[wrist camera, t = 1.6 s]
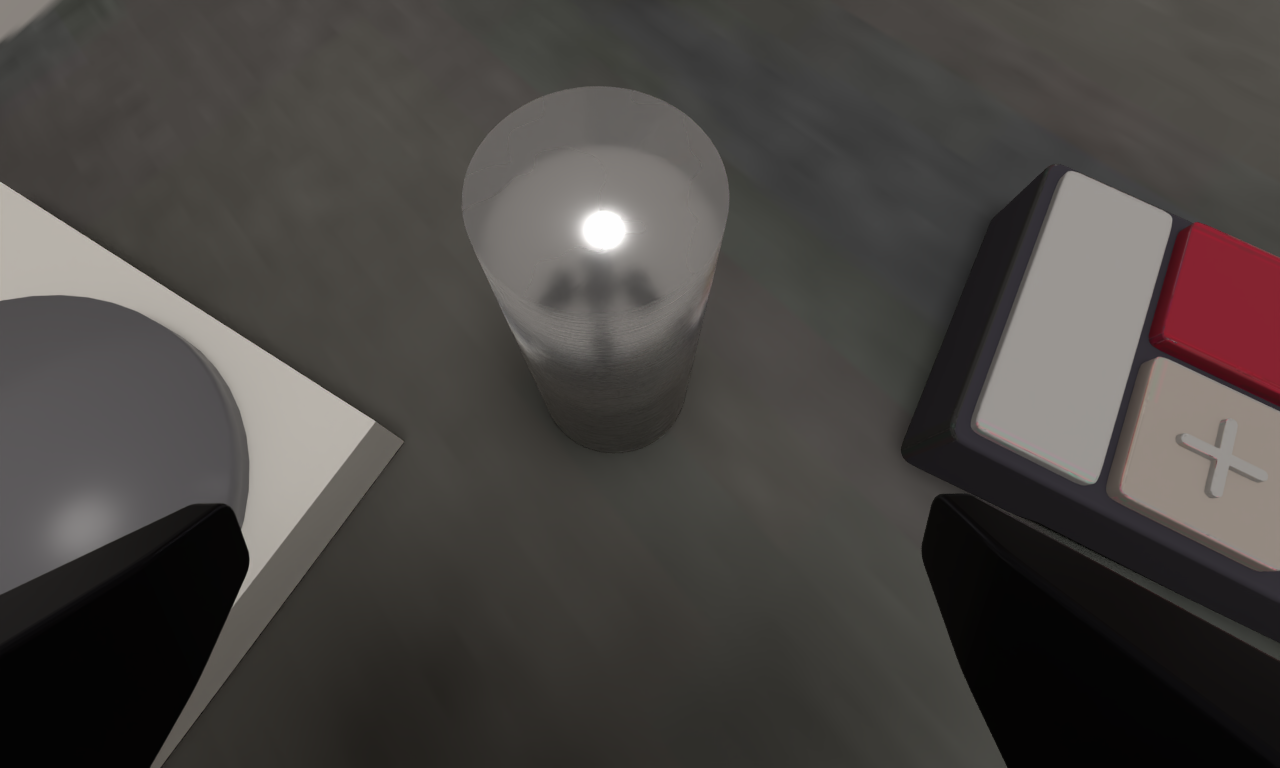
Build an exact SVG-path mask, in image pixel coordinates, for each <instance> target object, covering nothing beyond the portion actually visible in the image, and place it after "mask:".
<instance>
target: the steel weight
mask: <svg viewBox="0 0 1280 768" xmlns="http://www.w3.org/2000/svg"><path fill="white" fill-rule="evenodd" d="M728 211H729V187H728V179H727V175H726V171H725V168H724V165H723V162H722V160H721V158H720V155H719V153H718V151H717V150H716V148H715V146H714V145H713V143H712V141H711V140H710V139H709V137H708V136H707V135H706V134H705V132H704V131H703V130H702V129H701V128H700V127H699V126H698V125H697V124H696V123H695V122H694V121H693V120H692V119H691V118H690V117H688V116H687V115H685V114H684V113H683V112H681V111H680V110H679V109H677V108H675V107H674V106H672V105H670V104H668V103H666V102H665V101H663V100H660V99H658V98H655V97H653V96H651V95H648V94H644V93H641V92H638V91H634V90H629V89H623V88H618V87H604V86H595V87H580V88H573V89H567V90H563V91H559V92H555V93H551V94H549V95H546V96H543V97H540V98H538V99H536V100H533V101H531V102H529V103H527V104H525V105H523V106H522V107H520V108H519V109H517V110H515V111H514V112H512V113H511V114H509V115H508V116H507V117H506V118H504V119H503V120H502V121H501V122H500V123H498V124H497V125H496V126H495V127H494V128H493V130H492V131H491V132H490V133H489V134H488V135H487V136H486V137H485V139H484V140H483V141H482V143H481V144H480V146H479V147H478V149H477V150H476V152H475V154H474V156H473V158H472V160H471V162H470V164H469V167H468V170H467V173H466V176H465V180H464V185H463V191H462V212H463V220H464V224H465V228H466V232H467V235H468V237H469V240H470V242H471V244H472V246H473V249H474V251H475V253H476V255H477V257H478V259H479V262H480V264H481V266H482V268H483V270H484V272H485V275H486V277H487V279H488V281H489V283H490V285H491V288H492V290H493V292H494V294H495V296H496V298H497V300H498V303H499V305H500V307H501V309H502V311H503V313H504V316H505V318H506V320H507V322H508V324H509V326H510V328H511V331H512V333H513V335H514V337H515V339H516V341H517V344H518V346H519V348H520V350H521V352H522V354H523V357H524V359H525V361H526V363H527V365H528V367H529V369H530V372H531V374H532V376H533V378H534V380H535V382H536V385H537V387H538V389H539V391H540V393H541V395H542V397H543V400H544V402H545V404H546V406H547V408H548V410H549V413H550V415H551V417H552V418H553V420H554V422H555V423H556V425H557V426H558V427H559V428H560V429H561V431H562V432H563V433H564V434H566V435H567V436H568V437H569V438H570V439H572V440H573V441H575V442H576V443H578V444H580V445H582V446H584V447H586V448H589V449H592V450H595V451H599V452H606V453H623V452H629V451H634V450H637V449H640V448H643V447H645V446H647V445H649V444H651V443H653V442H654V441H656V440H657V439H659V438H660V437H661V436H662V435H664V434H665V433H666V432H667V431H668V430H669V428H670V427H671V426H672V425H673V423H674V422H675V421H676V419H677V417H678V415H679V414H680V412H681V409H682V406H683V404H684V400H685V396H686V391H687V387H688V383H689V379H690V374H691V370H692V366H693V362H694V357H695V353H696V349H697V345H698V340H699V336H700V332H701V327H702V323H703V319H704V315H705V310H706V306H707V302H708V298H709V293H710V289H711V285H712V281H713V276H714V272H715V268H716V264H717V259H718V255H719V251H720V247H721V242H722V238H723V234H724V230H725V225H726V220H727V216H728Z"/></svg>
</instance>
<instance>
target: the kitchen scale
mask: <svg viewBox="0 0 1280 768" xmlns="http://www.w3.org/2000/svg"><path fill="white" fill-rule="evenodd" d="M403 443H404V441H403V440H402V439H400V438H399V437H397V436H396V435H394V434H393V433H392V432H390V431H389V430H387V429H386V428H384V427H383V426H381V425H380V424H379V423H377V422H376V421H374V420H373V419H371V418H369V417H368V416H366V415H365V414H363V413H362V412H360V411H358V410H357V409H355V408H354V407H352V406H351V405H349V404H347V403H346V402H344V401H343V400H341V399H340V398H338V397H336V396H335V395H333V394H332V393H330V392H329V391H327V390H325V389H324V388H322V387H321V386H319V385H318V384H316V383H315V382H313V381H311V380H310V379H308V378H307V377H305V376H304V375H302V374H300V373H299V372H297V371H296V370H294V369H293V368H291V367H289V366H288V365H286V364H285V363H283V362H282V361H280V360H278V359H277V358H275V357H274V356H272V355H271V354H269V353H268V352H266V351H264V350H263V349H261V348H260V347H258V346H257V345H255V344H253V343H252V342H250V341H249V340H247V339H246V338H244V337H242V336H241V335H239V334H238V333H236V332H235V331H233V330H231V329H230V328H228V327H227V326H225V325H224V324H222V323H221V322H219V321H217V320H216V319H214V318H213V317H211V316H210V315H208V314H206V313H205V312H203V311H202V310H200V309H199V308H197V307H195V306H194V305H192V304H191V303H189V302H188V301H186V300H184V299H183V298H181V297H180V296H178V295H177V294H175V293H174V292H172V291H170V290H169V289H167V288H166V287H164V286H163V285H161V284H159V283H158V282H156V281H155V280H153V279H152V278H150V277H148V276H147V275H145V274H144V273H142V272H141V271H139V270H137V269H136V268H134V267H133V266H131V265H130V264H128V263H127V262H125V261H123V260H122V259H120V258H119V257H117V256H116V255H114V254H112V253H111V252H109V251H108V250H106V249H105V248H103V247H101V246H100V245H98V244H97V243H95V242H94V241H92V240H90V239H89V238H87V237H86V236H84V235H83V234H81V233H80V232H78V231H76V230H75V229H73V228H72V227H70V226H69V225H67V224H65V223H64V222H62V221H61V220H59V219H58V218H56V217H54V216H53V215H51V214H50V213H48V212H47V211H45V210H43V209H42V208H40V207H39V206H37V205H36V204H34V203H33V202H31V201H29V200H28V199H26V198H25V197H23V196H22V195H20V194H18V193H17V192H15V191H14V190H12V189H11V188H9V187H7V186H6V185H4V184H3V183H1V182H0V595H1V594H3V593H5V592H7V591H9V590H11V589H13V588H15V587H18V586H20V585H22V584H24V583H26V582H28V581H30V580H32V579H34V578H37V577H39V576H41V575H43V574H45V573H47V572H49V571H51V570H53V569H55V568H58V567H60V566H62V565H64V564H66V563H68V562H70V561H72V560H74V559H77V558H79V557H81V556H83V555H85V554H87V553H89V552H91V551H93V550H95V549H98V548H100V547H102V546H104V545H106V544H108V543H110V542H112V541H114V540H117V539H119V538H121V537H123V536H125V535H127V534H129V533H131V532H133V531H135V530H138V529H140V528H142V527H144V526H146V525H148V524H150V523H152V522H154V521H157V520H159V519H161V518H163V517H165V516H167V515H169V514H171V513H173V512H175V511H178V510H180V509H182V508H184V507H186V506H188V505H191V504H196V503H224V504H227V505H229V506H230V507H231V508H232V509H233V510H234V512H235V515H236V517H237V520H238V523H239V526H240V529H241V531H242V534H243V537H244V540H245V543H246V545H247V548H248V551H249V558H250V562H249V568H248V572H247V575H246V577H245V579H244V582H243V584H242V586H241V588H240V590H239V593H238V595H237V597H236V599H235V602H234V604H233V606H232V608H231V611H230V613H229V615H228V617H227V620H226V622H225V624H224V626H223V629H222V631H221V633H220V635H219V638H218V640H217V642H216V644H215V646H214V649H213V651H212V653H211V655H210V658H209V660H208V662H207V664H206V667H205V669H204V671H203V673H202V675H201V677H200V679H199V681H198V683H197V685H196V687H195V689H194V691H193V693H192V694H191V696H190V698H189V700H188V702H187V704H186V706H185V707H184V709H183V711H182V713H181V714H180V716H179V718H178V720H177V721H176V723H175V725H174V727H173V728H172V730H171V732H170V734H169V735H168V737H167V739H166V741H165V742H164V744H163V746H162V748H161V750H160V751H159V753H158V755H157V757H156V758H155V760H154V762H153V764H152V765H151V767H150V768H161V766H162V765H163V763H164V762H165V761H166V759H167V758H168V757H169V755H170V754H171V753H172V751H173V750H174V749H175V747H176V746H177V745H178V743H179V742H180V741H181V739H182V738H183V737H184V735H185V734H186V733H187V731H188V730H189V729H190V727H191V726H192V725H193V723H194V722H195V721H196V719H197V718H198V717H199V715H200V714H201V713H202V711H203V710H204V709H205V707H206V706H207V705H208V703H209V702H210V701H211V699H212V698H213V697H214V695H215V694H216V693H217V691H218V690H219V689H220V687H221V686H222V685H223V683H224V682H225V681H226V679H227V678H228V677H229V675H230V674H231V673H232V671H233V670H234V669H235V667H236V666H237V665H238V663H239V662H240V661H241V659H242V658H243V657H244V655H245V654H246V653H247V651H248V650H249V648H250V647H251V646H252V644H253V643H254V642H255V640H256V639H257V638H258V636H259V635H260V634H261V632H262V631H263V630H264V628H265V627H266V626H267V624H268V623H269V622H270V620H271V619H272V618H273V616H274V615H275V614H276V612H277V611H278V610H279V608H280V607H281V606H282V604H283V603H284V602H285V600H286V599H287V598H288V596H289V595H290V594H291V592H292V591H293V590H294V588H295V587H296V586H297V584H298V583H299V582H300V580H301V579H302V578H303V576H304V575H305V574H306V572H307V571H308V570H309V568H310V567H311V566H312V564H313V563H314V562H315V560H316V559H317V558H318V556H319V555H320V554H321V552H322V551H323V550H324V548H325V547H326V546H327V544H328V543H329V542H330V540H331V539H332V538H333V536H334V535H335V534H336V532H337V531H338V529H339V528H340V527H341V525H342V524H343V523H344V521H345V520H346V519H347V517H348V516H349V515H350V513H351V512H352V511H353V509H354V508H355V507H356V505H357V504H358V503H359V501H360V500H361V499H362V497H363V496H364V495H365V493H366V492H367V491H368V489H369V488H370V487H371V485H372V484H373V483H374V481H375V480H376V479H377V477H378V476H379V475H380V473H381V472H382V471H383V469H384V468H385V467H386V465H387V464H388V463H389V461H390V460H391V459H392V457H393V456H394V455H395V453H396V452H397V451H398V449H399V448H400V447H401V445H402V444H403Z"/></svg>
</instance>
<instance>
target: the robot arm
mask: <svg viewBox="0 0 1280 768" xmlns="http://www.w3.org/2000/svg"><path fill="white" fill-rule="evenodd" d="M922 559H923V563H924V566H925V569H926V572H927V575H928V577H929V580H930V583H931V586H932V589H933V592H934V594H935V597H936V600H937V603H938V606H939V609H940V611H941V614H942V617H943V620H944V623H945V626H946V628H947V631H948V634H949V637H950V640H951V643H952V645H953V648H954V651H955V654H956V657H957V659H958V662H959V664H960V667H961V669H962V672H963V674H964V677H965V679H966V681H967V683H968V685H969V688H970V690H971V692H972V694H973V696H974V698H975V701H976V703H977V705H978V707H979V709H980V711H981V713H982V715H983V717H984V719H985V721H986V724H987V726H988V728H989V730H990V732H991V734H992V736H993V738H994V740H995V742H996V745H997V747H998V749H999V751H1000V753H1001V755H1002V757H1003V759H1004V761H1005V763H1006V765H1007V768H1280V661H1279V660H1277V659H1275V658H1273V657H1271V656H1270V655H1268V654H1266V653H1264V652H1262V651H1260V650H1259V649H1257V648H1255V647H1253V646H1251V645H1249V644H1247V643H1246V642H1244V641H1242V640H1240V639H1238V638H1236V637H1234V636H1233V635H1231V634H1229V633H1227V632H1225V631H1223V630H1221V629H1220V628H1218V627H1216V626H1214V625H1212V624H1210V623H1209V622H1207V621H1205V620H1203V619H1201V618H1199V617H1197V616H1196V615H1194V614H1192V613H1190V612H1188V611H1186V610H1184V609H1183V608H1181V607H1179V606H1177V605H1175V604H1173V603H1171V602H1170V601H1168V600H1166V599H1164V598H1162V597H1160V596H1159V595H1157V594H1155V593H1153V592H1151V591H1149V590H1147V589H1146V588H1144V587H1142V586H1140V585H1138V584H1136V583H1134V582H1133V581H1131V580H1129V579H1127V578H1125V577H1123V576H1121V575H1120V574H1118V573H1116V572H1114V571H1112V570H1110V569H1109V568H1107V567H1105V566H1103V565H1101V564H1099V563H1097V562H1096V561H1094V560H1092V559H1090V558H1088V557H1086V556H1084V555H1083V554H1081V553H1079V552H1077V551H1075V550H1073V549H1072V548H1070V547H1068V546H1066V545H1064V544H1062V543H1060V542H1059V541H1057V540H1055V539H1053V538H1051V537H1049V536H1047V535H1046V534H1044V533H1042V532H1040V531H1038V530H1036V529H1035V528H1033V527H1031V526H1029V525H1027V524H1025V523H1023V522H1022V521H1020V520H1018V519H1016V518H1014V517H1012V516H1010V515H1009V514H1007V513H1005V512H1003V511H1001V510H999V509H998V508H996V507H994V506H992V505H990V504H988V503H986V502H985V501H983V500H981V499H979V498H977V497H975V496H973V495H971V494H940V495H938V496H936V497H935V499H934V500H933V502H932V505H931V509H930V513H929V517H928V521H927V525H926V529H925V533H924V537H923V542H922ZM249 562H250V558H249V551H248V548H247V545H246V543H245V540H244V537H243V534H242V531H241V529H240V526H239V523H238V520H237V517H236V515H235V512H234V510H233V509H232V508H231V507H230V506H229V505H227V504H224V503H196V504H191V505H188V506H186V507H184V508H182V509H180V510H178V511H175V512H173V513H171V514H169V515H167V516H165V517H163V518H161V519H159V520H157V521H154V522H152V523H150V524H148V525H146V526H144V527H142V528H140V529H138V530H135V531H133V532H131V533H129V534H127V535H125V536H123V537H121V538H119V539H117V540H114V541H112V542H110V543H108V544H106V545H104V546H102V547H100V548H98V549H95V550H93V551H91V552H89V553H87V554H85V555H83V556H81V557H79V558H77V559H74V560H72V561H70V562H68V563H66V564H64V565H62V566H60V567H58V568H55V569H53V570H51V571H49V572H47V573H45V574H43V575H41V576H39V577H37V578H34V579H32V580H30V581H28V582H26V583H24V584H22V585H20V586H18V587H15V588H13V589H11V590H9V591H7V592H5V593H3V594H1V595H0V768H150V767H151V765H152V764H153V762H154V760H155V758H156V757H157V755H158V753H159V751H160V750H161V748H162V746H163V744H164V742H165V741H166V739H167V737H168V735H169V734H170V732H171V730H172V728H173V727H174V725H175V723H176V721H177V720H178V718H179V716H180V714H181V713H182V711H183V709H184V707H185V706H186V704H187V702H188V700H189V698H190V696H191V694H192V693H193V691H194V689H195V687H196V685H197V683H198V681H199V679H200V677H201V675H202V673H203V671H204V669H205V667H206V664H207V662H208V660H209V658H210V655H211V653H212V651H213V649H214V646H215V644H216V642H217V640H218V638H219V635H220V633H221V631H222V629H223V626H224V624H225V622H226V620H227V617H228V615H229V613H230V611H231V608H232V606H233V604H234V602H235V599H236V597H237V595H238V593H239V590H240V588H241V586H242V584H243V582H244V579H245V577H246V575H247V572H248V568H249Z"/></svg>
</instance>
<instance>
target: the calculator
mask: <svg viewBox="0 0 1280 768" xmlns="http://www.w3.org/2000/svg"><path fill="white" fill-rule="evenodd" d="M901 453H902V456H903V458H904V459H905V460H906V461H907V462H908V463H910V464H912V465H914V466H916V467H917V468H919V469H922V470H924V471H926V472H928V473H930V474H932V475H934V476H936V477H938V478H940V479H942V480H944V481H946V482H948V483H950V484H953V485H955V486H957V487H959V488H961V489H963V490H965V491H967V492H969V493H971V494H973V495H975V496H977V497H979V498H981V499H984V500H986V501H988V502H990V503H992V504H994V505H996V506H998V507H1000V508H1002V509H1004V510H1006V511H1008V512H1010V513H1013V514H1015V515H1017V516H1020V517H1023V518H1026V519H1029V520H1033V521H1036V522H1038V523H1040V524H1042V525H1044V526H1046V527H1048V528H1050V529H1052V530H1054V531H1056V532H1058V533H1060V534H1062V535H1064V536H1066V537H1068V538H1070V539H1072V540H1074V541H1076V542H1078V543H1080V544H1082V545H1084V546H1086V547H1088V548H1090V549H1091V550H1093V551H1095V552H1097V553H1099V554H1101V555H1103V556H1105V557H1107V558H1109V559H1111V560H1113V561H1115V562H1117V563H1119V564H1121V565H1123V566H1125V567H1127V568H1129V569H1131V570H1133V571H1135V572H1137V573H1139V574H1141V575H1143V576H1145V577H1147V578H1149V579H1151V580H1153V581H1155V582H1157V583H1159V584H1161V585H1163V586H1165V587H1167V588H1169V589H1170V590H1172V591H1174V592H1176V593H1178V594H1180V595H1182V596H1184V597H1186V598H1189V599H1191V600H1193V601H1195V602H1197V603H1199V604H1201V605H1203V606H1205V607H1207V608H1209V609H1211V610H1213V611H1215V612H1217V613H1219V614H1221V615H1223V616H1225V617H1228V618H1230V619H1232V620H1234V621H1236V622H1238V623H1240V624H1242V625H1244V626H1246V627H1248V628H1250V629H1252V630H1254V631H1256V632H1258V633H1260V634H1262V635H1264V636H1267V637H1269V638H1271V639H1273V640H1275V641H1277V642H1279V643H1280V257H1277V256H1275V255H1273V254H1271V253H1268V252H1266V251H1264V250H1262V249H1260V248H1257V247H1255V246H1253V245H1251V244H1248V243H1246V242H1244V241H1242V240H1239V239H1237V238H1235V237H1233V236H1230V235H1228V234H1226V233H1224V232H1221V231H1219V230H1217V229H1215V228H1212V227H1210V226H1208V225H1205V224H1202V223H1199V222H1195V223H1192V222H1189V221H1187V220H1185V219H1183V218H1181V217H1178V216H1176V215H1174V214H1172V213H1169V212H1167V211H1165V210H1163V209H1160V208H1158V207H1156V206H1154V205H1151V204H1149V203H1147V202H1145V201H1143V200H1140V199H1138V198H1136V197H1134V196H1131V195H1129V194H1127V193H1125V192H1122V191H1120V190H1118V189H1116V188H1113V187H1111V186H1109V185H1107V184H1105V183H1102V182H1100V181H1098V180H1096V179H1093V178H1091V177H1089V176H1087V175H1084V174H1082V173H1080V172H1078V171H1075V170H1073V169H1071V168H1069V167H1066V166H1064V165H1061V164H1053V165H1050V166H1049V167H1047V168H1046V169H1045V170H1044V171H1043V172H1042V173H1041V174H1040V175H1039V176H1037V177H1036V178H1035V179H1034V180H1033V181H1032V182H1031V183H1030V184H1029V185H1028V186H1027V187H1026V188H1025V189H1024V190H1023V191H1022V192H1021V193H1019V194H1018V195H1017V196H1016V197H1015V198H1014V199H1013V200H1012V201H1011V202H1010V203H1009V204H1008V205H1007V206H1006V207H1005V208H1004V209H1003V210H1001V211H1000V212H999V213H998V214H997V215H996V216H995V217H994V218H993V219H992V221H991V223H990V225H989V228H988V230H987V232H986V235H985V238H984V240H983V243H982V245H981V248H980V250H979V253H978V255H977V258H976V260H975V263H974V265H973V268H972V270H971V273H970V275H969V278H968V280H967V283H966V285H965V288H964V290H963V293H962V295H961V298H960V300H959V303H958V305H957V308H956V310H955V313H954V315H953V318H952V320H951V323H950V325H949V328H948V330H947V333H946V335H945V338H944V340H943V343H942V345H941V348H940V350H939V353H938V355H937V358H936V360H935V363H934V366H933V368H932V371H931V373H930V376H929V378H928V381H927V383H926V386H925V388H924V391H923V393H922V396H921V398H920V401H919V403H918V406H917V408H916V411H915V413H914V416H913V418H912V421H911V423H910V426H909V428H908V431H907V433H906V436H905V438H904V441H903V444H902V447H901Z"/></svg>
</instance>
